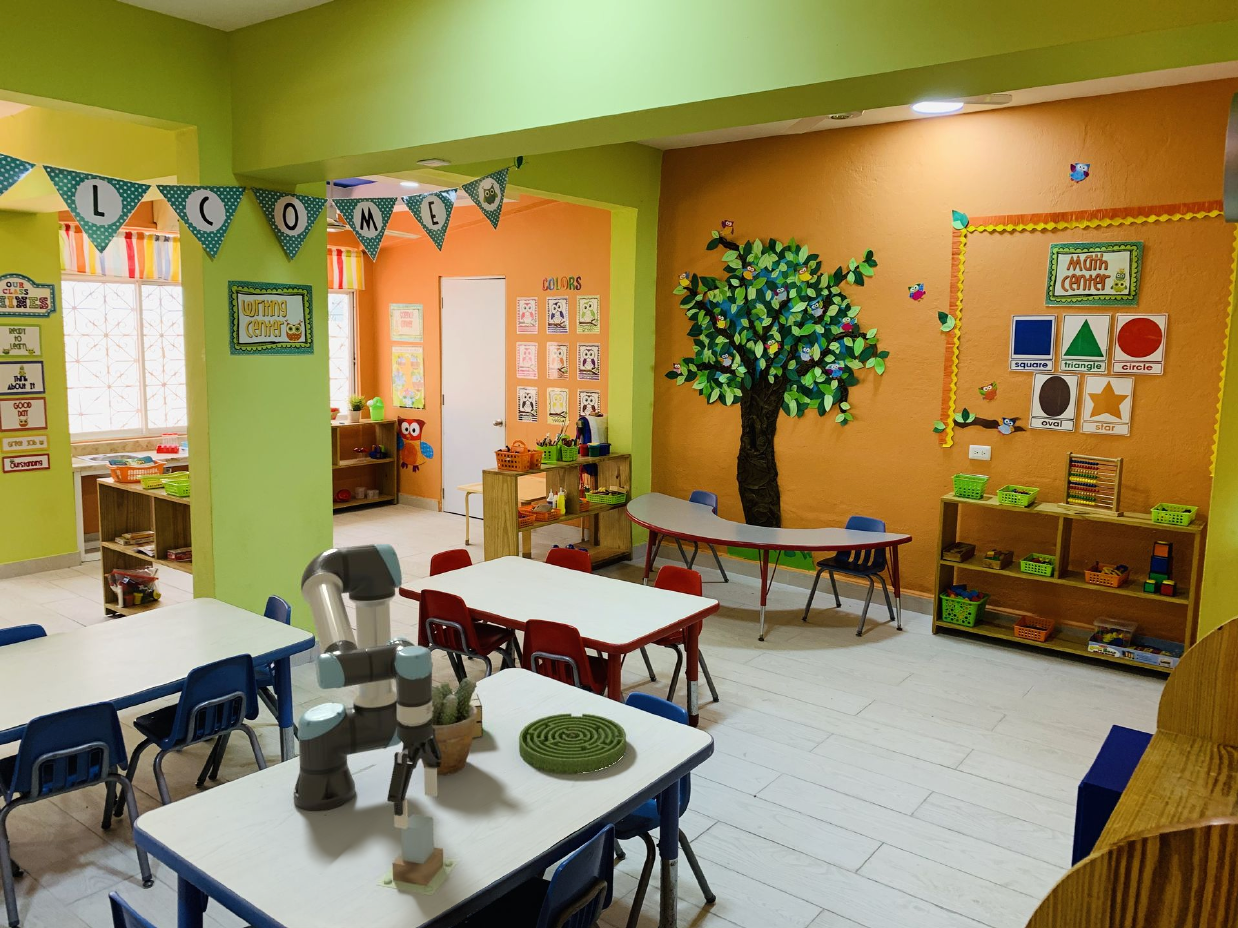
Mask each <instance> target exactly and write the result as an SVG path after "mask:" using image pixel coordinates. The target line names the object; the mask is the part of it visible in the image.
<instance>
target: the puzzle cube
mask: <svg viewBox="0 0 1238 928" xmlns="http://www.w3.org/2000/svg"><path fill="white" fill-rule="evenodd" d="M470 701H471V702H470V704H472V705H474V706H475V707H476V709H477V720H476V727H475V729H474V732H473V738H472V739H476V738H482V737H483V705H482V703H481V700H480V697H479V694H478V692H477V693H475V692H474V693H473V694H472V697H471V699H470Z"/></svg>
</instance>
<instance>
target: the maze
mask: <svg viewBox="0 0 1238 928" xmlns="http://www.w3.org/2000/svg"><path fill="white" fill-rule="evenodd" d="M626 748H627V734H626V731H625V729H624V728H623V727H622V726H621V725H620V724H619V723H618V722H615V721H614V720H613V719H609V718H607V717H604V716H600V715H597V714H596V715H595V714H590V713H588V714H587V713H582V714H581V716H580V715H579V716H577V715H574V716H573V715H572V713H559V714H553V715H549V716H544V717H541V718H538V719H536V720H534V721H532V722H530V723H528V724H527V725H526V726H524V727H523V729H522V730H521V731H520V733H519V737H518V749H519V750H518V751H519V757H520V758H521V759H522V760H523V761H524V763H526V764H528V765H529V766H530V767H532V768H535V769H538V770H540V771H542V772H543V771H544V772H547V773H550V772H552V774H558V773H559V775H578V774H577V773H583V772H591V771H595V770H599V769H601V768H605V767H609V765H612V764H613V763H615V762H617V761H618V760H619V759H620V758H621V757H622V756H623V755H624V753H625V751H627V749H626ZM625 754H626V753H625ZM624 756H625V755H624ZM624 756H623V757H624ZM612 766H613V765H612ZM609 768H610V767H609ZM591 773H592V772H591Z"/></svg>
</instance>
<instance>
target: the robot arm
mask: <svg viewBox="0 0 1238 928" xmlns="http://www.w3.org/2000/svg"><path fill="white" fill-rule="evenodd" d="M402 576H403V575H402V570H401V565H400V559H399V558H398V555H397V552H396V550H395V548H394V547H393V546H392V545H391V544H388V543H382V544H381V543H380V544H379V543H377V544H376V543H374V544H373V543H372V544H363V545H355V546H354V545H353V546H345V547H332V548H329V549H326V550H324V551H322V552H321V553H319V554H317V555H316V556H315V557H314V558H312V560H311V561H310V562H309V563H308V565H307V566H306V567H305V569H304V571H303V573H302V576H301V580H300V581H301V582H300V590H301V594H302V598H303V599H304V601H305V602H307V604H309V607H310V612H311V616H312V620H313V622H314V627H315V631H316V635H317V639H318V643H319V647H320V651H321V654H319V655H318V656H316V659H315V672H316V673H315V674H316V680H317V684H318V687H319V688H320V689H322V690H329V689H342V688H346V687H353V686H358V693H357V695H355V697H354V698H353V701H352V704H353V705H352V707H350V708H348V707H347V708H346V706H345V705H344V704H343V703H341V702H335V703H334V702H326V703H321V704H319V705H315V706H313V707H310V708H308V709H307V710H306V711H305V712H303V713H302V714H301V715H300V717H299V719H298V725H297V726H298V731H297V738H298V750H299V751H298V753H299V754H298V755H299V759H298V760H299V772H298V776H297V780H296V782H295V785H294V786H295V787H294V789H293V802H294V804H295V806H296V807H298V808H299V809H303V810H307V811H314V812H315V811H327V810H331V809H335V808H337V807H342V805H345V804H347V803H349V801H351V800H352V799H353V798H354V796H355V795H356V783H355V779H354V778H353V776H352V773H351V769H350V766H349V765H348V756H350V755H354V754H360V753H366V752H370V751H371V752H372V751H377V750H382V749H384V750H386V749H389V748H390V747H395V746H398V745H400V744H401V743H402V749H401V750H402V751H400V752H398V751H396V752H395V753H394V759H393V760H394V761H393V763H394V764H393V769H392V773H391V778H390V784H389V788H388V794H387V798H386V799H387V800H386V801H387V802H389V803H393V815H394V816H393V820H394V822H393V823H394V828H398V829H402V828H403V829H407V827H408V819H409V817H408V815H409V814H408V798H406V796H407V792H408V789H409V785H410V782H411V779H412V776H413V773H414V772H413V771H414V770H416V768H417V766H418V762H419V761H420V760H421V758H422V760H423V761H424V762H425V763H426V765H428V767H427V766H426V767H425V768H424V767H423V769H424V775H423V776H424V795H425V796H430V797H437V796H438V775H437V767H441V764H442V763H441V762H438V761H439V760H441V759H442V754H441V751H440V748H439V745H438V742H437V740H436V737H435V728H433V719H432V718H431V717H432V711H433V709H434V708H433V707H432V684H433V666H434V665H433V660H432V658H433V657H432V652H431V650H430V649H429V648H427V647H424V646H422V645H415V644H414V643H412V642H411V641H410V640H409V639H407V638H405V637H395V638H392V636H391V635H392V634H391V633H392V632H391V610H390V609H391V606H390V603H391V601H392V600H393V599H394V598H395V596H396V589H398V588H400V587H401V586H402V584H403V583H402V580H403V577H402ZM342 594H348V600H349V601H351V602H352V603H353V604H354V606H355V628H356V639H355V635H354V632H353V629H352V624H351V621H350V618H349V615H348V612H347V609H346V605H345V602H344V599H343V596H342ZM393 680H394V681H395V687H396V691H395V690H394V689H393V688H394V687H393ZM422 760H421V761H422Z"/></svg>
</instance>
